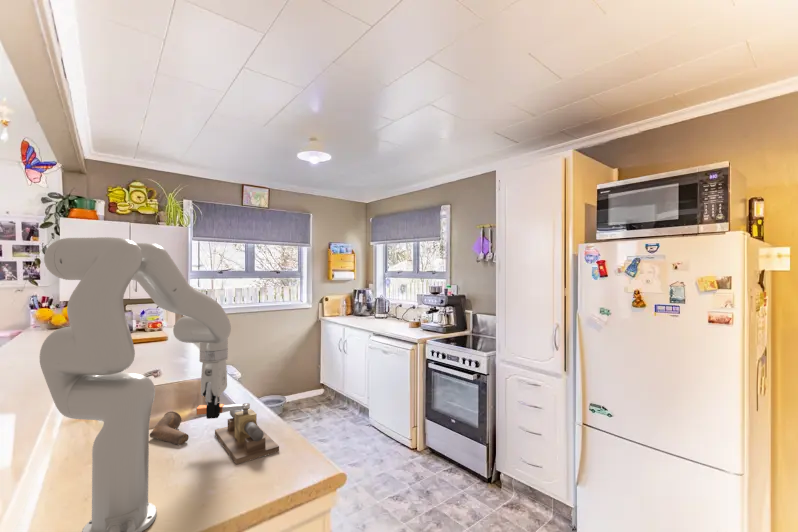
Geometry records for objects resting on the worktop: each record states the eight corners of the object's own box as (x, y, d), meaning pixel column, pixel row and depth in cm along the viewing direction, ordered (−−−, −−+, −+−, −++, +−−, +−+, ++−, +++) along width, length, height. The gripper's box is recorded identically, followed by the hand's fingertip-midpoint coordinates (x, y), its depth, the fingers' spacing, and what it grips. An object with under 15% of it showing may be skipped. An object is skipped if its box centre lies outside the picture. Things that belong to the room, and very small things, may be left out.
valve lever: (249, 410, 116) (249, 404, 116) (196, 414, 113) (196, 408, 113) (250, 407, 119) (250, 401, 119) (199, 411, 115) (199, 405, 115)
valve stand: (279, 451, 111) (279, 415, 111) (236, 464, 104) (236, 426, 104) (252, 424, 130) (252, 394, 130) (214, 434, 123) (215, 401, 123)
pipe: (176, 433, 113) (204, 415, 122) (139, 424, 119) (168, 408, 128) (179, 452, 114) (207, 434, 123) (142, 442, 120) (171, 425, 129)
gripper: (220, 360, 106) (219, 426, 105) (233, 349, 120) (232, 407, 120) (191, 361, 104) (190, 428, 104) (208, 350, 119) (207, 409, 119)
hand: (213, 417), depth 112 cm, fingers closed
